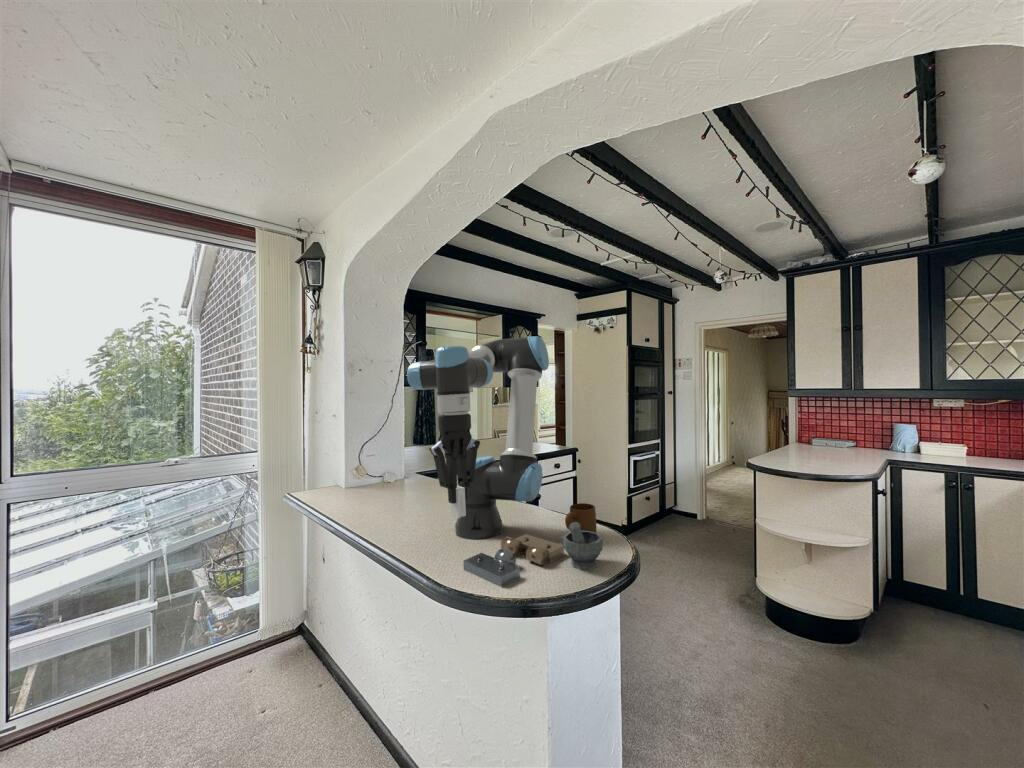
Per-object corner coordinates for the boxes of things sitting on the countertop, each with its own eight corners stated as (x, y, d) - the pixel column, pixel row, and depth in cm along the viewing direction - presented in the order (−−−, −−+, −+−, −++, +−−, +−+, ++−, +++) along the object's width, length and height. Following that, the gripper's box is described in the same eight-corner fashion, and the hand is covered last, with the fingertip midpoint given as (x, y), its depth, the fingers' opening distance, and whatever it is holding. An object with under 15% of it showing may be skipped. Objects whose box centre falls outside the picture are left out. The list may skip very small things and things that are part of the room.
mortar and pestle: (573, 554, 110) (571, 509, 110) (607, 560, 105) (605, 513, 105) (556, 571, 100) (554, 522, 100) (594, 578, 95) (591, 527, 95)
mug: (578, 550, 112) (577, 516, 112) (556, 544, 117) (555, 511, 117) (601, 537, 121) (600, 505, 121) (580, 532, 126) (578, 501, 126)
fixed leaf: (501, 553, 112) (500, 538, 112) (526, 542, 119) (525, 529, 119) (539, 567, 102) (538, 551, 102) (564, 555, 109) (563, 540, 109)
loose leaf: (463, 570, 103) (462, 554, 103) (493, 557, 110) (492, 542, 110) (501, 588, 93) (500, 570, 93) (531, 572, 100) (530, 555, 100)
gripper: (438, 416, 87) (443, 527, 87) (487, 411, 96) (491, 511, 96) (419, 415, 92) (424, 520, 92) (467, 411, 102) (471, 506, 102)
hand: (458, 515), depth 94 cm, fingers closed
